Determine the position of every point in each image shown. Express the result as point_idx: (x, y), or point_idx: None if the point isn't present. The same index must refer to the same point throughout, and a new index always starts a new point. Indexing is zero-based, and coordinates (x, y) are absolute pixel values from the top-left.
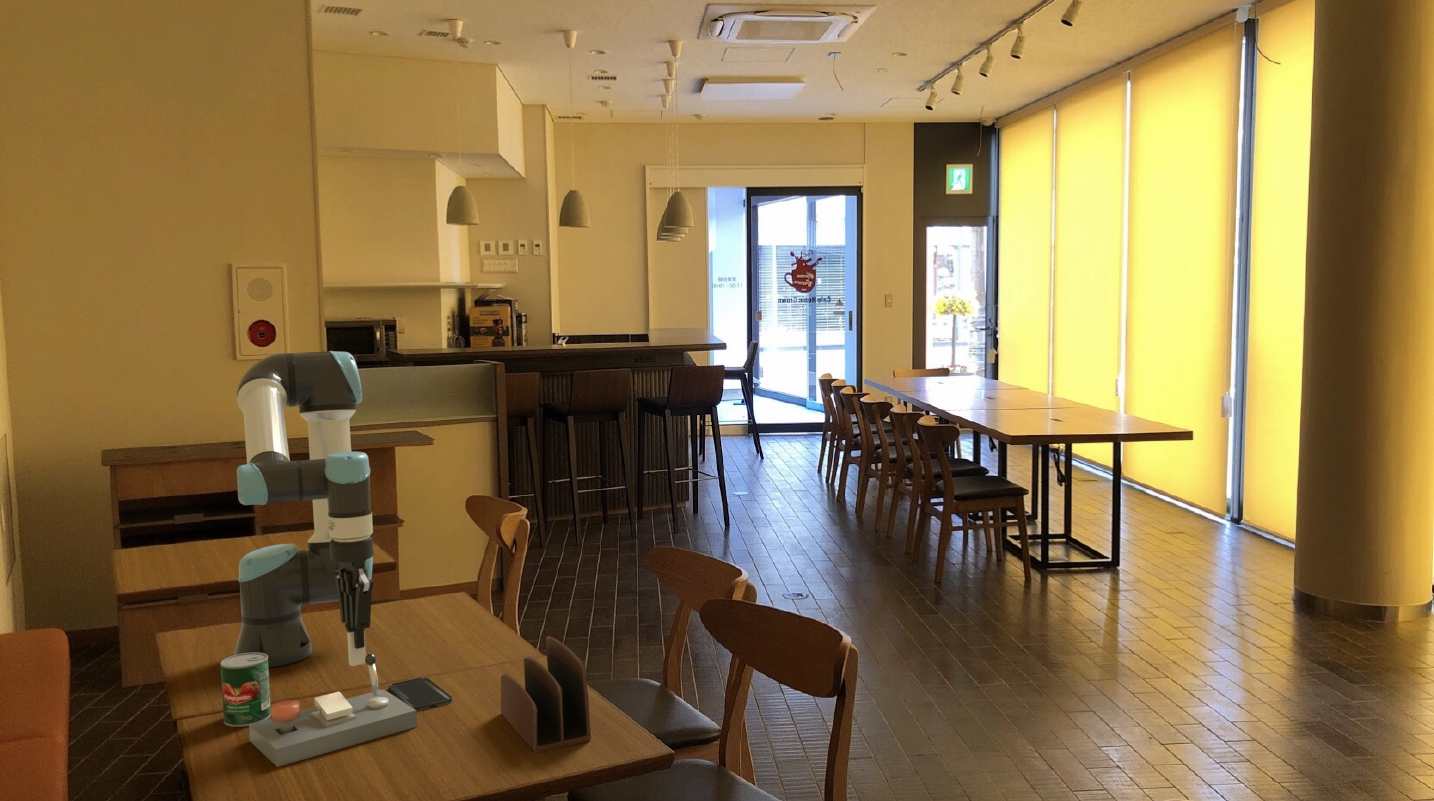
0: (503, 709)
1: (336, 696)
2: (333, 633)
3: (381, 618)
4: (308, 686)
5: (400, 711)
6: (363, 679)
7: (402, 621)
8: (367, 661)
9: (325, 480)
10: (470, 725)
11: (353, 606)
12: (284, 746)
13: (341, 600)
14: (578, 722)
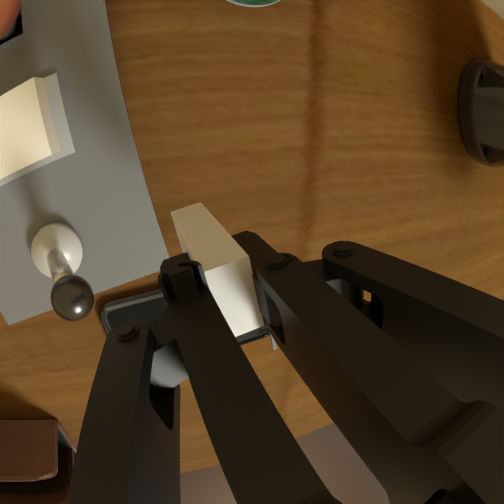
0: (45, 427)
1: (27, 145)
2: (499, 203)
3: (497, 261)
4: (366, 112)
5: (7, 294)
6: (345, 218)
7: (481, 284)
8: (53, 285)
9: None
10: (14, 379)
11: (210, 437)
12: None
13: (443, 313)
14: None
